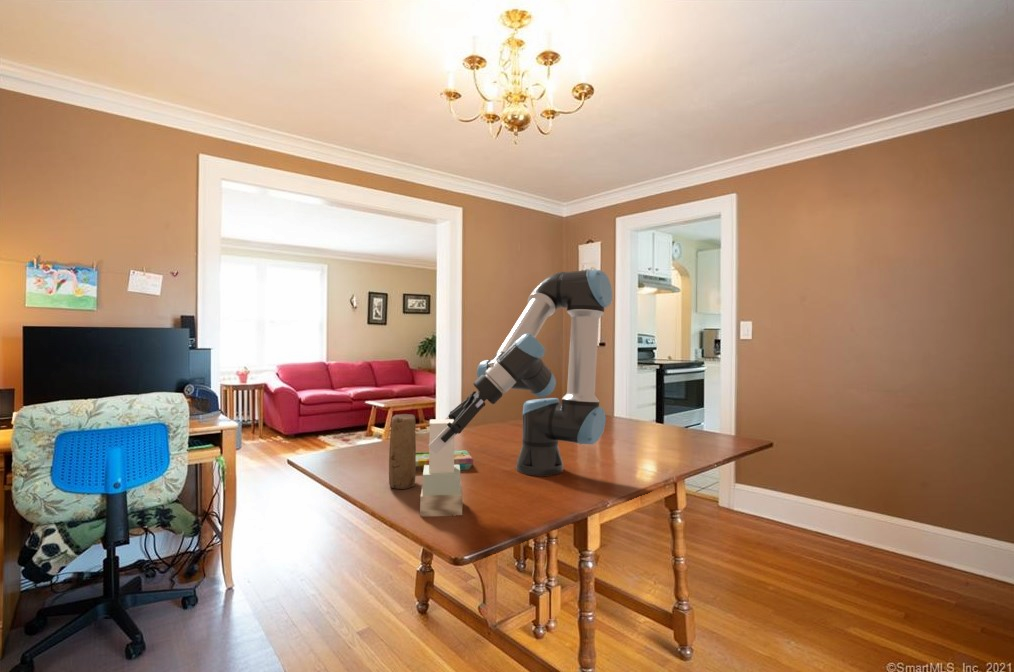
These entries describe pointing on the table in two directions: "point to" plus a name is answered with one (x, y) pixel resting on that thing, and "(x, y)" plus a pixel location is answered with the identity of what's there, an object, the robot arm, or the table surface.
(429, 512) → the tower base
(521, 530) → the table surface
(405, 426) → the block
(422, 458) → the puzzle game
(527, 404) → the robot arm
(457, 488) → the tower top
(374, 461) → the table surface
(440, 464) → the cream block
